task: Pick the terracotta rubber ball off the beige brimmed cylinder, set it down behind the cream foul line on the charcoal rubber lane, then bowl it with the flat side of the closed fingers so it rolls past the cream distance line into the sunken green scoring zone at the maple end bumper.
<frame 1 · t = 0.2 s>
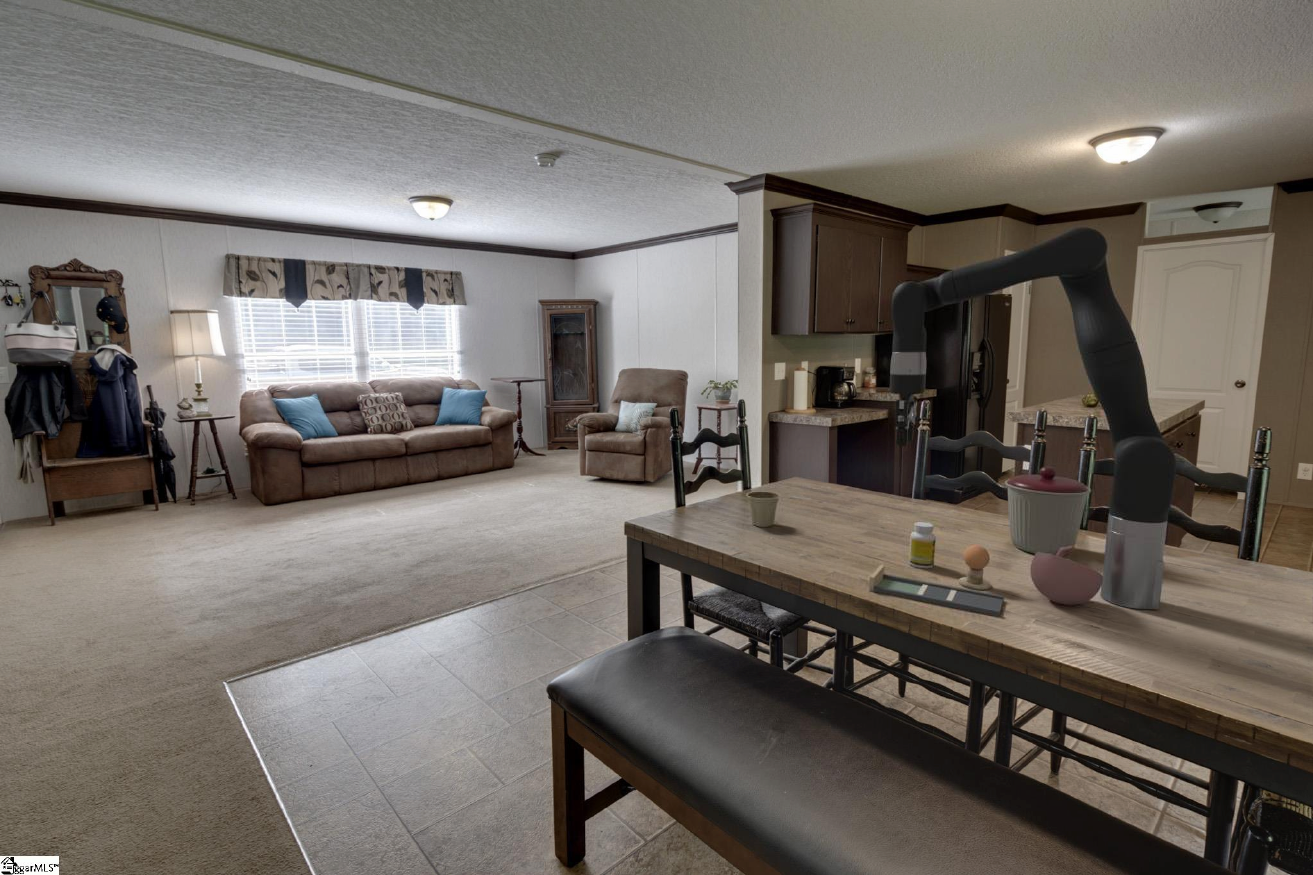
hand: (904, 443, 147), 28 cm above the table, fingers open, 8 cm apart
beige brimmed cylinder: (974, 584, 136), on the table
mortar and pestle: (1062, 603, 127), on the table
canister: (1041, 550, 160), on the table
ball: (976, 557, 136), point 6 cm above the table, touching beige brimmed cylinder
flower pot: (762, 524, 183), on the table
lane: (934, 595, 130), on the table
supplement bottle: (921, 565, 149), on the table
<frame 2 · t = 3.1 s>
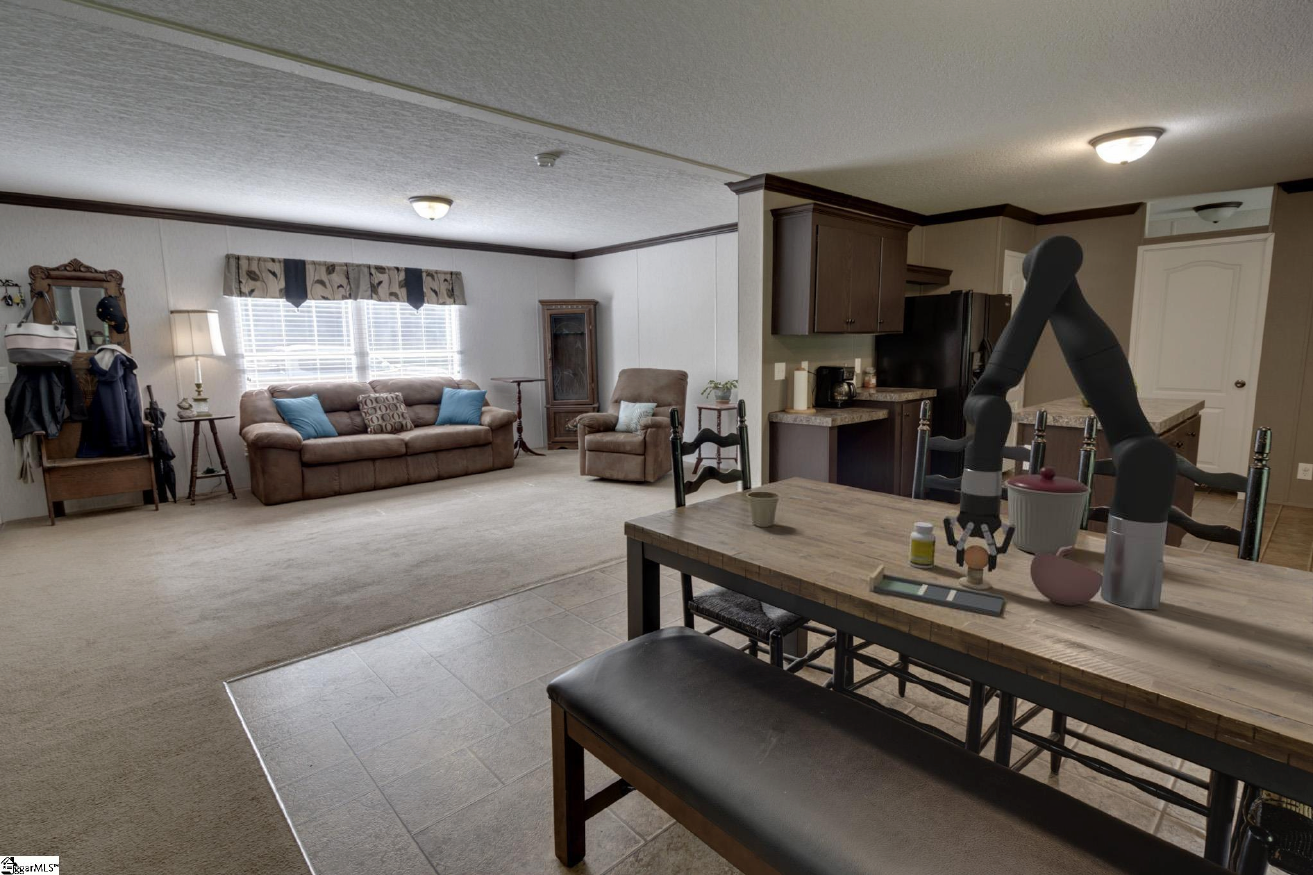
hand: (975, 567, 136), 4 cm above the table, fingers closed on ball, 5 cm apart
ball: (976, 557, 136), point 6 cm above the table, touching gripper, beige brimmed cylinder
everything else where it was.
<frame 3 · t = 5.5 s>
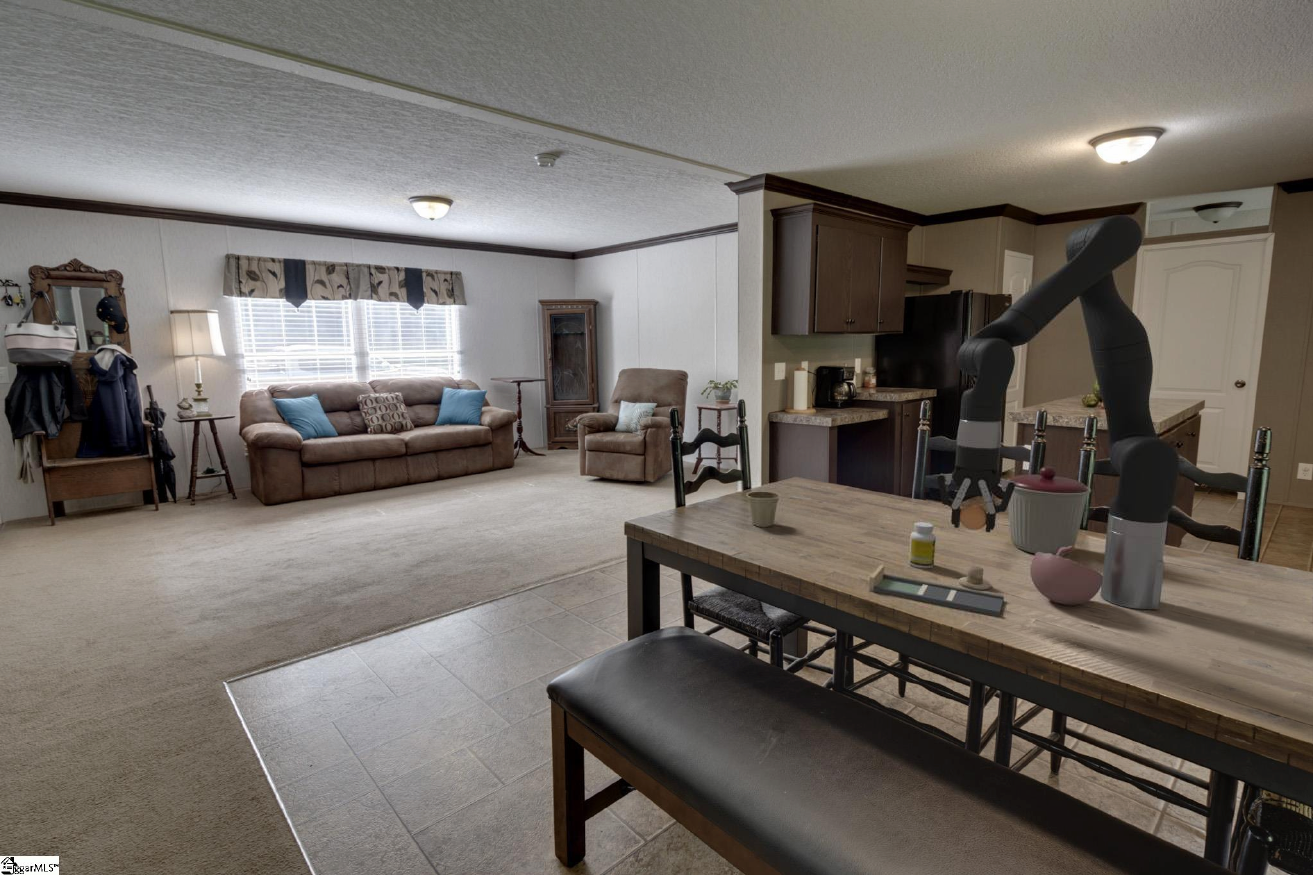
hand: (972, 528, 125), 15 cm above the table, fingers closed on ball, 5 cm apart
ball: (973, 516, 125), point 17 cm above the table, touching gripper
everything else where it was.
when the fingers open (2 cm above the table, at t = 8.2 s): ball stays where it is, resting on lane.
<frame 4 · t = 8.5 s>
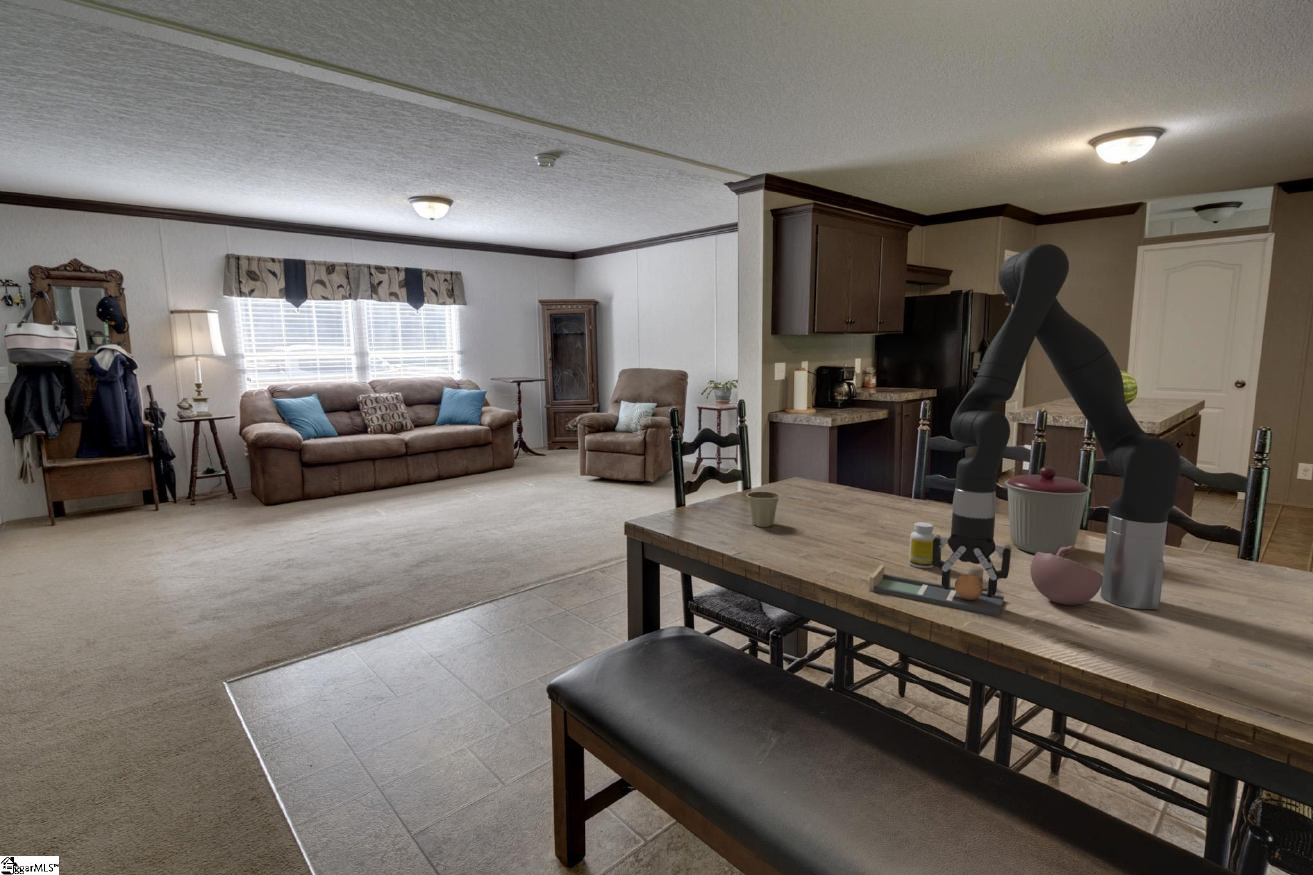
hand: (968, 592, 127), 2 cm above the table, fingers open, 7 cm apart
ball: (968, 587, 127), point 3 cm above the table, touching lane
everything else where it was.
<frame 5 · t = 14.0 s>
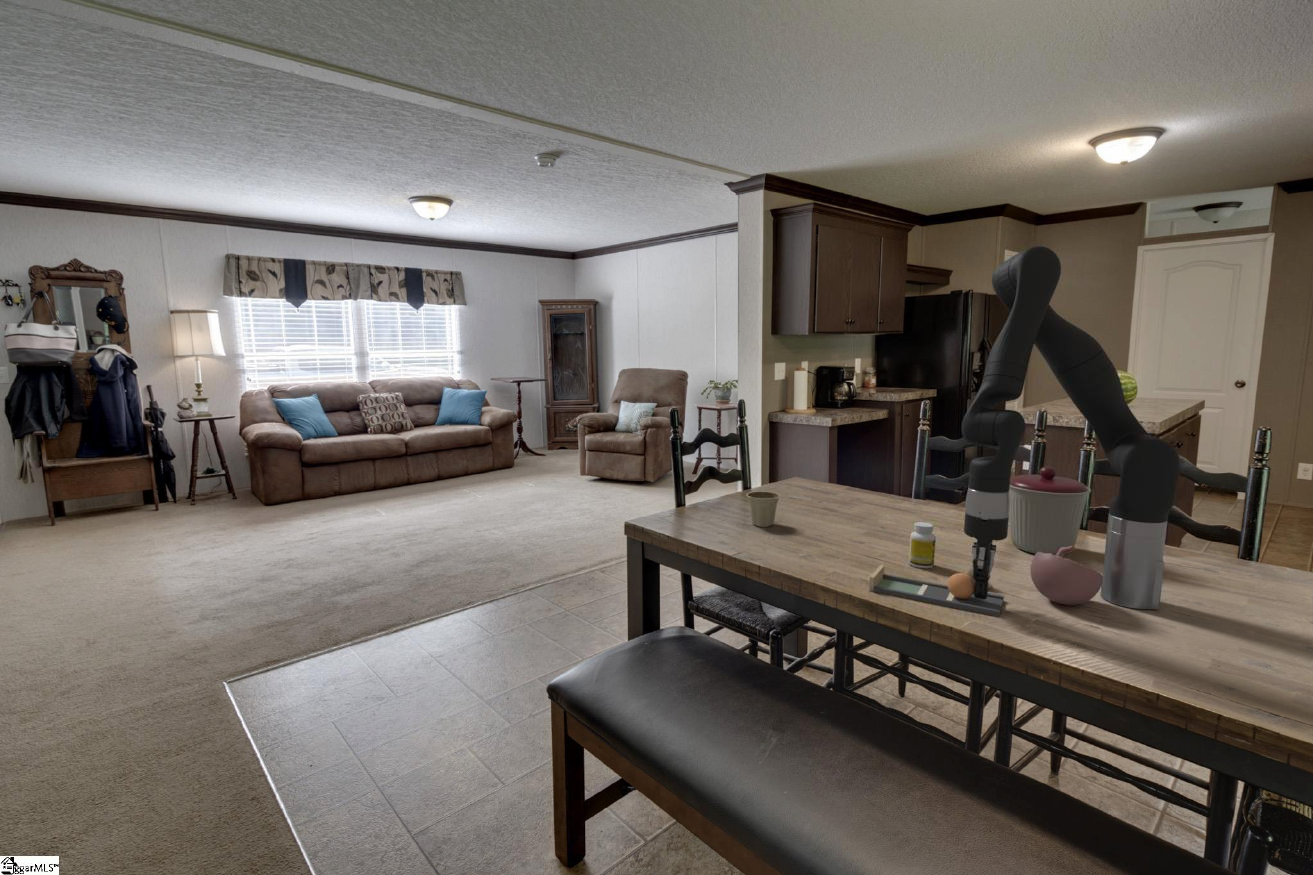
hand: (980, 597, 126), 2 cm above the table, fingers closed
ball: (961, 585, 128), point 3 cm above the table, tilted 26°, touching gripper, lane
everything else where it was.
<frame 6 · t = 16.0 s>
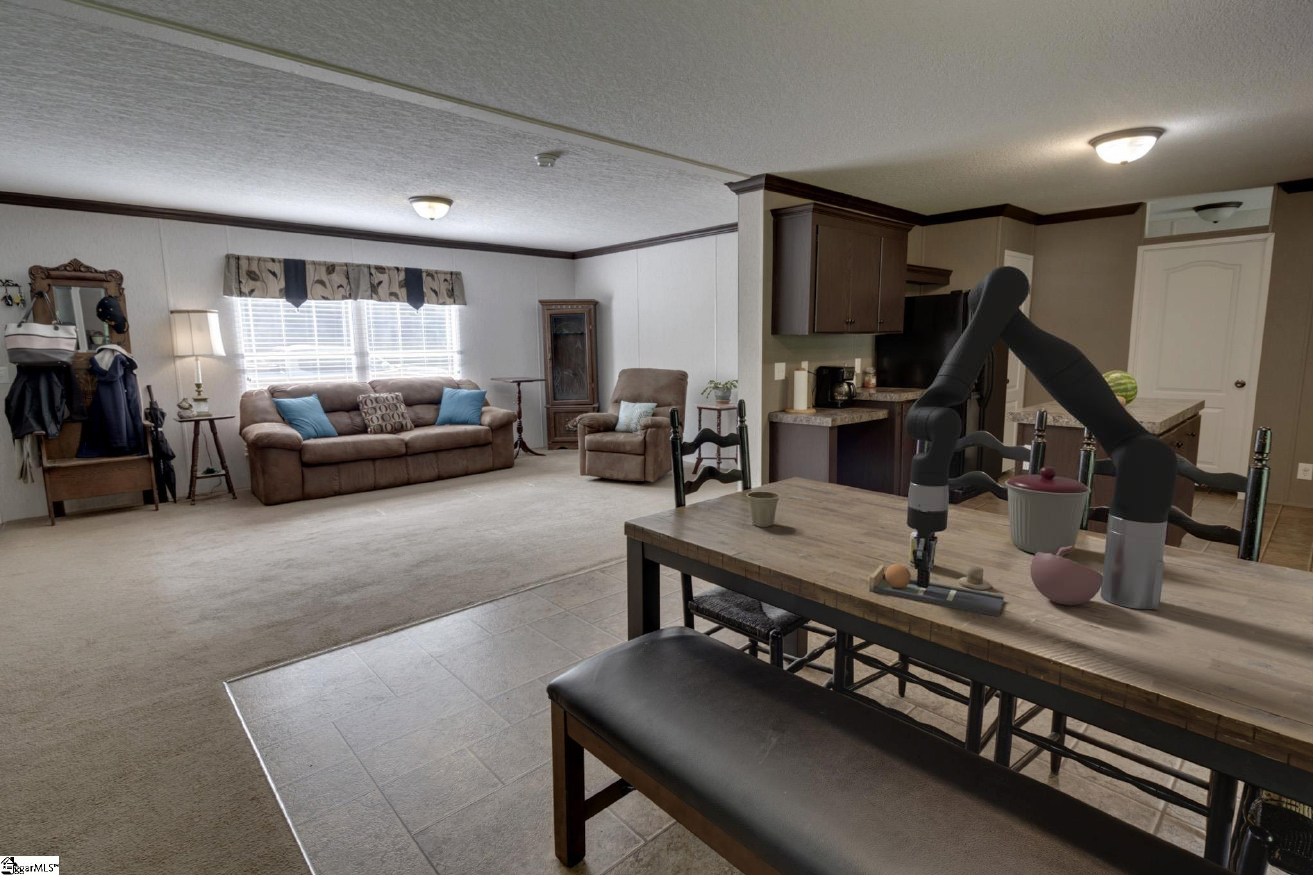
hand: (922, 586, 132), 1 cm above the table, fingers closed
ball: (897, 576, 134), point 3 cm above the table, tilted 59°, touching lane
everything else where it was.
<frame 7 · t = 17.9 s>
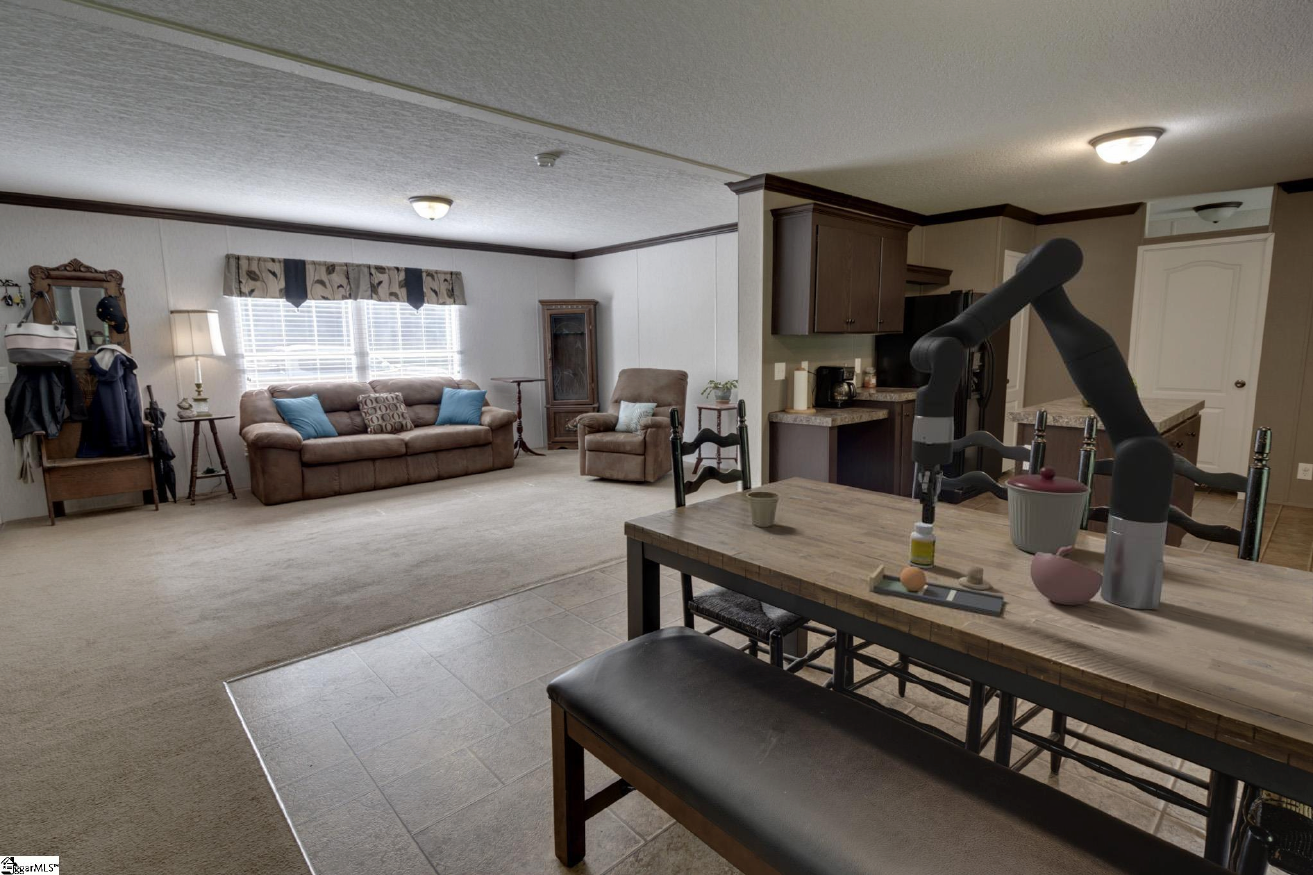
hand: (928, 522, 129), 15 cm above the table, fingers closed
ball: (913, 578, 132), point 3 cm above the table, tilted 129°, touching lane
everything else where it was.
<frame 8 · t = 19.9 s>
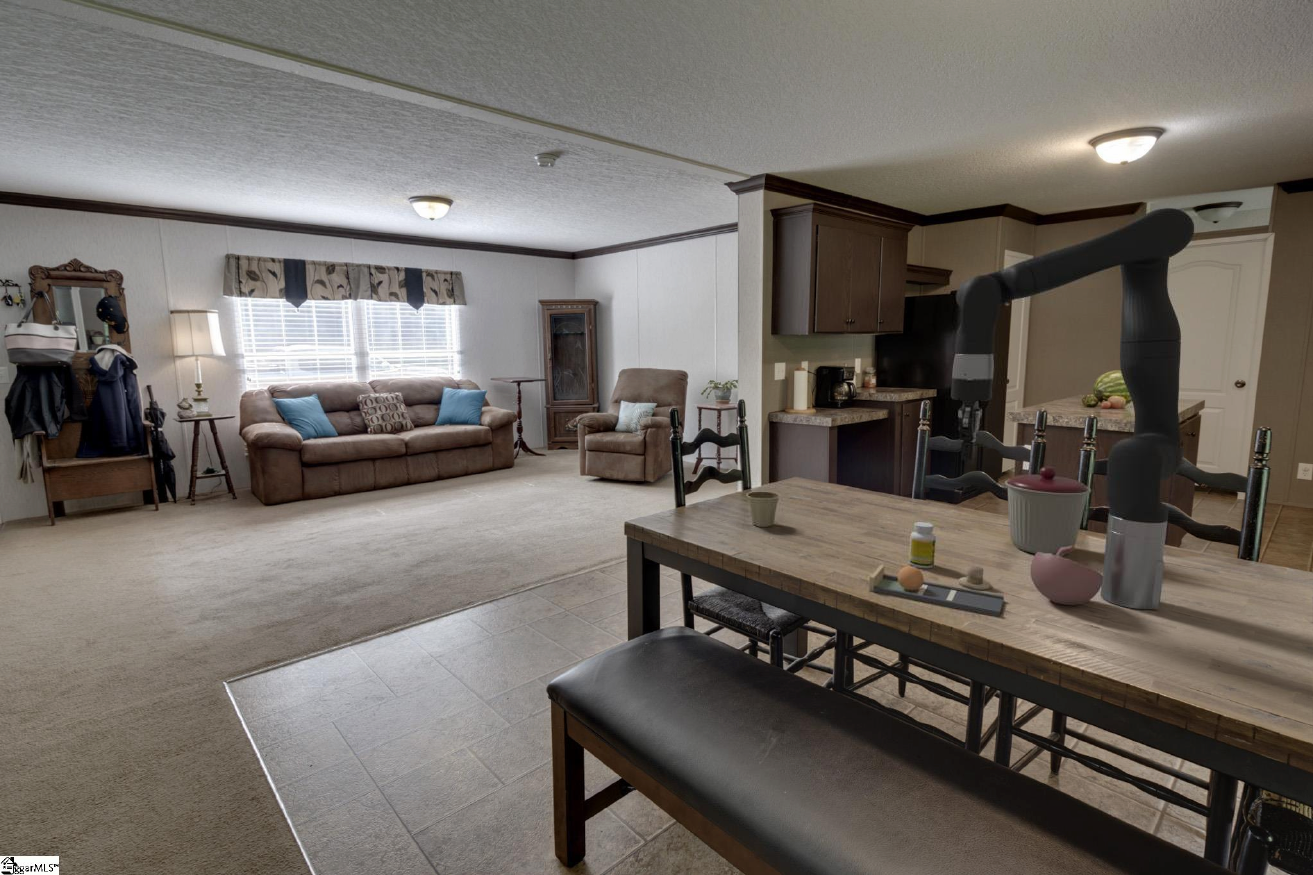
hand: (966, 459, 133), 27 cm above the table, fingers closed
ball: (910, 578, 133), point 3 cm above the table, tilted 117°, touching lane
everything else where it was.
at the end: ball inside the target area on the lane (2.1 cm from its centre), point 2.7 cm above the lane's base; the gripper is holding nothing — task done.
